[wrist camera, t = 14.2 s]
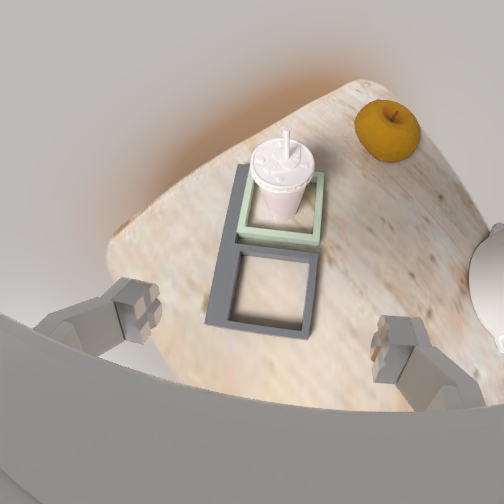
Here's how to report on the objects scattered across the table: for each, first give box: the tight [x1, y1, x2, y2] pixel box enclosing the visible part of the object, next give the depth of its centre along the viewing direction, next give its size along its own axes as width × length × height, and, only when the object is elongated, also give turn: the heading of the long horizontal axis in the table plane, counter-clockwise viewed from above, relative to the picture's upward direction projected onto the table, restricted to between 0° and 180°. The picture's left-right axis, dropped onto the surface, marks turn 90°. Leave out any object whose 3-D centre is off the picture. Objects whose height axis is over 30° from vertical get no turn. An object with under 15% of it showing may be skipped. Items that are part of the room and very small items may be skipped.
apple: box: [355, 100, 421, 163], centre depth 35 cm, size 9×9×9 cm
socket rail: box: [204, 164, 324, 340], centre depth 35 cm, size 11×21×2 cm, turn 171°
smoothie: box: [250, 126, 314, 220], centre depth 31 cm, size 6×6×14 cm
